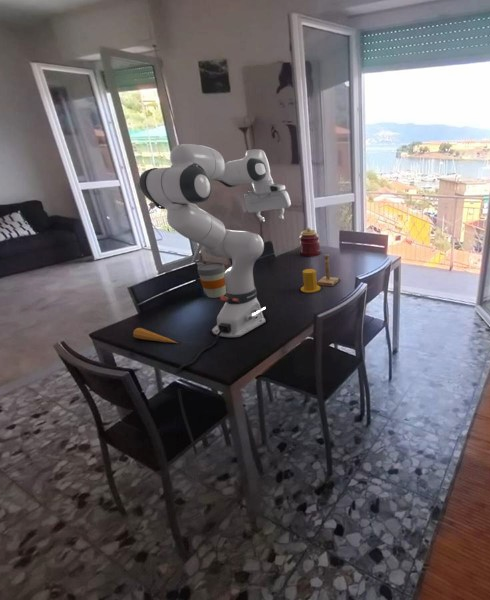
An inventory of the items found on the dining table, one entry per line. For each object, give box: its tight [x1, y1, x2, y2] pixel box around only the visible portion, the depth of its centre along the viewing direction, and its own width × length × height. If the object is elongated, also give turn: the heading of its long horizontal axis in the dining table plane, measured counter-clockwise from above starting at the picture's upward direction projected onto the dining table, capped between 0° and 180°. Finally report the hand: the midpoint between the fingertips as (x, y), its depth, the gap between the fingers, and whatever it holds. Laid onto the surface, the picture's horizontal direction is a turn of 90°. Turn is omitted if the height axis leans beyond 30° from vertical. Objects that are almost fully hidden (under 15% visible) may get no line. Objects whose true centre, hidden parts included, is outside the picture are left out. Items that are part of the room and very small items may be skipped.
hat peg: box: [317, 253, 340, 287], centre depth 189 cm, size 9×9×16 cm
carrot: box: [132, 327, 178, 344], centre depth 139 cm, size 20×4×4 cm, turn 74°
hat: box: [299, 268, 322, 294], centre depth 182 cm, size 10×10×10 cm
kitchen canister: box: [299, 227, 321, 257], centre depth 237 cm, size 13×13×18 cm
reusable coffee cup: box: [197, 261, 227, 299], centre depth 177 cm, size 12×13×15 cm
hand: (272, 220), depth 161 cm, fingers open, 8 cm apart
